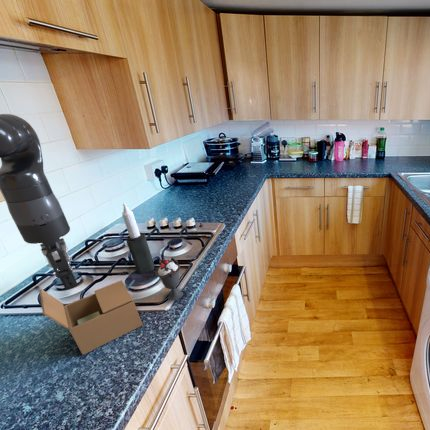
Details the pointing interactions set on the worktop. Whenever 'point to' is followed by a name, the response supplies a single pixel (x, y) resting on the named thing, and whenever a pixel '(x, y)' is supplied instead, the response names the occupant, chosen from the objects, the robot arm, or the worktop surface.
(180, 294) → the sundae
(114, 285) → the carton
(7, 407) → the worktop surface
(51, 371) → the worktop surface
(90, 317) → the block
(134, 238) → the candle
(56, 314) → the carton flap
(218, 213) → the worktop surface
